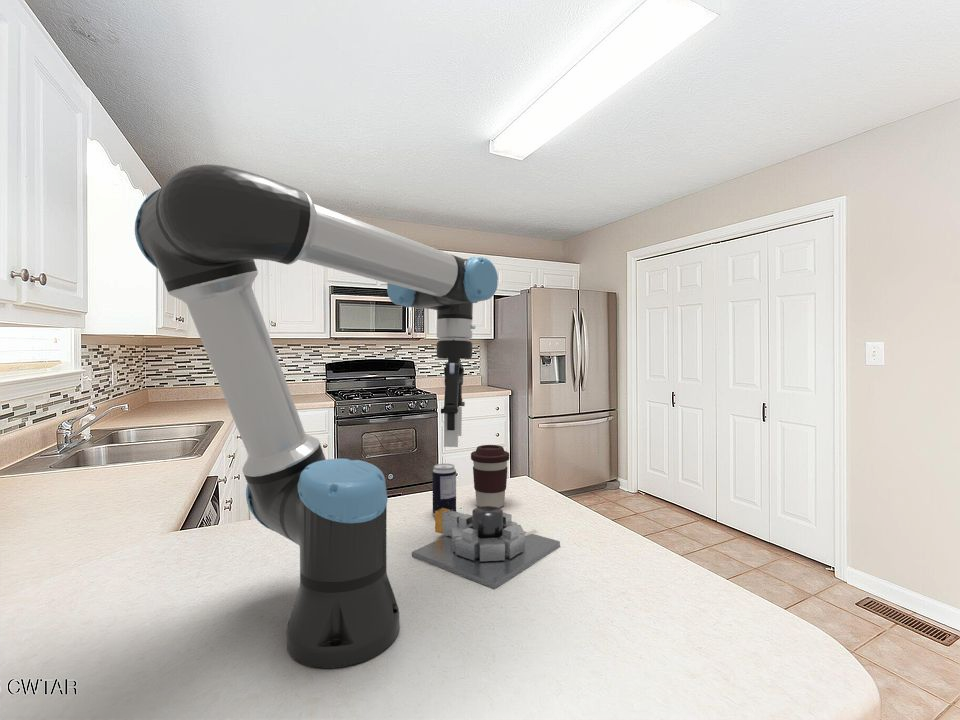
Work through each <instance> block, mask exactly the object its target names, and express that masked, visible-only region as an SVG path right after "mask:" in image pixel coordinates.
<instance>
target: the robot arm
mask: <svg viewBox="0 0 960 720" xmlns="http://www.w3.org/2000/svg"><path fill="white" fill-rule="evenodd" d="M134 221H135V222H134V238H135V239H136V240H135V241H136V243H137V246H138V247H139V250H140V251H141V254H142V255H143V256H144V257H145V259H146V260H147V261H148V262H149V263H150V264H151V265H152V266H153V267H155V268H156V269H158V272H159V274H160V276H161V279H162V281H163V284H164V286H165V288H166V290H167V294H168V295H170V296H171V297H173V298H176V299H178V300H180V301H182V302H183V303H184V304H186V306H187V308H188V311H189V314H190V316H191V319H192V320H193V324H194V326H195V328H196V330H197V333H198V335H199V337H200V340H201V343H202V345H203V348H204V350H205V353H206V355H207V357H208V360H209V363H210V364H211V368H212V369H213V370H212V371H214V375H215V377H216V380H217V382H218V384H219V387H220V389H221V392H222V394H223V397H224V399H225V401H226V404H227V406H228V408H229V411H230V414H231V417H232V419H233V420H234V423H235V426H236V429H237V431H238V433H239V436H240V439H241V441H242V444H243V446H244V448H245V451H246V453H247V456H248V457H247V459H246V461H245V462H244V464H243V466H242V474H243V476H244V477H245V480H246V483H247V484H246V488H245V498H246V499H245V500H246V504H247V507H248V509H249V511H250V512H251V514H252V515H253V517H254V518H255V520H256V521H257V522H258V523H259V524H261V525H262V526H264V527H265V528H267V529H269V530H270V531H273V532H274V533H277V534H278V535H281V536H283V537H284V538H286V539H288V540H289V541H291V542H293V543H294V544H296V545H298V546H299V575H300V576H299V587H298V591H297V593H296V596H295V601H294V603H293V608H292V611H291V615H290V618H289V620H288V622H287V626H286V627H287V628H286V648H287V653H289V655H290V656H291V657H292V658H293V660H295V661H297V662H298V663H301V664H303V665H306V666H309V667H314V668H322V669H323V668H324V669H325V668H326V669H328V668H329V669H332V668H343V667H347V666H353V665H356V664H360V663H362V662H365V661H368V660H370V659H372V658H374V657H376V656H378V655H380V654H381V653H382V652H384V651H385V650H386V649H387V648H389V647H390V646H391V645H392V644H393V643H394V642H395V640H396V639H397V637H398V634H399V632H400V609H399V605H398V603H397V599H396V596H395V593H394V591H393V587H392V585H391V583H390V579H389V577H388V576H389V575H388V572H387V557H388V556H387V520H388V518H387V509H388V508H387V506H388V499H389V498H388V493H387V486H386V485H387V484H386V477H385V475H384V473H383V471H382V470H381V468H379V467H377V466H376V465H375V464H373V463H370V462H367V461H365V460H364V461H363V460H361V459H353V460H351V459H349V458H329V459H326V456H325V454H324V451H323V448H322V446H321V442H320V441H319V438H317V437H315V436H312V435H309V434H307V433H306V431H305V429H304V426H303V423H302V421H301V418H300V416H299V413H298V409H297V408H296V405H295V402H294V399H293V396H292V394H291V391H290V388H289V384H288V383H287V380H286V377H285V373H284V372H283V370H282V369H283V368H282V367H281V364H280V360H279V358H278V356H277V352H276V350H275V347H274V344H273V342H272V340H271V339H272V338H271V337H270V333H269V331H268V329H267V325H266V323H265V320H264V318H263V315H262V311H261V309H260V307H259V303H258V301H257V298H256V295H255V292H254V290H253V284H254V282H255V280H256V278H257V276H258V274H259V271H258V267H257V264H256V262H255V260H261V261H263V260H264V261H271V262H275V263H280V264H283V265H288V266H289V265H290V266H291V265H292V264H294V263H296V262H297V261H302V262H306V263H309V264H314V265H317V266H322V267H326V268H329V269H333V270H337V271H341V272H345V273H348V274H353V275H355V276H360V277H363V278H367V279H371V280H374V281H377V282H382V283H387V284H386V286H387V288H386V291H387V295H388V298H389V300H390V301H391V302H392V303H393V304H394V305H397V306H402V307H405V308H408V309H409V308H416V309H426V310H434V311H436V315H437V316H436V338H437V339H439V340H438V341H437V342H436V357H437V359H440V360H441V359H443V360H445V359H447V360H448V361H447V362H446V363H445V367H444V369H443V373H444V403H443V408H440V414H443V415H444V416H443V421H444V422H443V447H444V448H458V447H459V437H462V420H463V419H462V418H463V417H462V414H463V413H462V411H463V407H465V406H466V403H465V401H463V398H462V395H463V393H462V392H463V391H462V388H463V387H462V386H463V385H464V375H465V374H464V373H465V367H463V363H462V362H461V360H470V359H472V358H473V342H472V341H470V340H471V339H473V330H476V325H475V324H473V316H474V315H473V312H474V311H473V310H474V308H473V307H474V305H473V304H477V303H479V302H483V301H488V300H490V299H491V298H492V297H494V295H495V294H496V292H497V289H498V283H499V276H498V271H497V268H496V266H495V265H494V263H493V262H492V261H491V260H490V259H489V258H486V257H482V256H479V257H475V256H472V257H469V258H463V257H460V256H456V255H454V254H451V253H448V252H445V251H444V250H443V251H442V250H440V249H437V248H435V247H432V246H429V245H426V244H424V243H421V242H419V241H416V240H412V239H410V238H407V237H404V236H402V235H399V234H397V233H395V232H392V231H388V230H386V229H384V228H381V227H377V226H375V225H372V224H370V223H368V222H364V221H361V220H359V219H357V218H354V217H352V216H351V217H350V216H348V215H346V214H342V213H340V212H337V211H335V210H332V209H329V208H325V207H324V206H321V205H318V204H315V203H313V201H312V199H311V197H310V196H309V194H308V193H307V192H306V191H303V190H301V189H298V188H296V187H294V186H291V185H288V184H287V183H283V182H280V181H277V180H274V179H272V178H269V177H266V176H263V175H260V174H256V173H255V172H250V171H246V170H244V169H239V168H236V167H232V166H226V165H221V164H199V165H197V164H196V165H192V166H189V167H185V168H183V169H180V170H179V171H178V172H176V173H174V174H173V175H171V176H170V178H168V179H167V180H166V182H165V184H164V185H162V186H161V187H160V188H158V189H157V190H155V191H153V192H151V193H150V194H149V196H148V197H146V198H145V199H144V200H143V202H142V203H141V205H140V207H139V209H138V211H137V215H136V217H135V220H134Z"/></svg>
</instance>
